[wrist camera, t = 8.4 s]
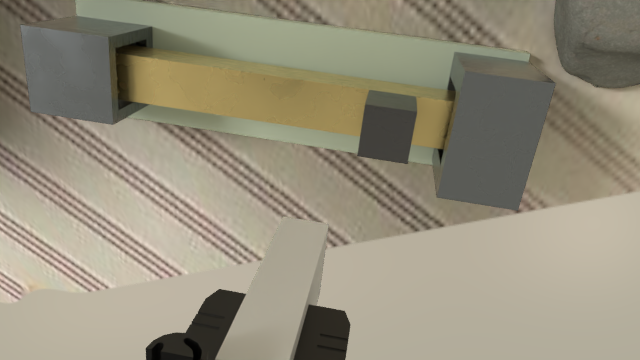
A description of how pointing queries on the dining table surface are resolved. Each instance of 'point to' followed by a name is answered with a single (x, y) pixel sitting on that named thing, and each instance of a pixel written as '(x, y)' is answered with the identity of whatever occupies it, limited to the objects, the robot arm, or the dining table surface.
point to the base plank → (288, 60)
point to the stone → (599, 40)
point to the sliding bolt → (290, 98)
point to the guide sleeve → (79, 66)
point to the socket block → (491, 130)
